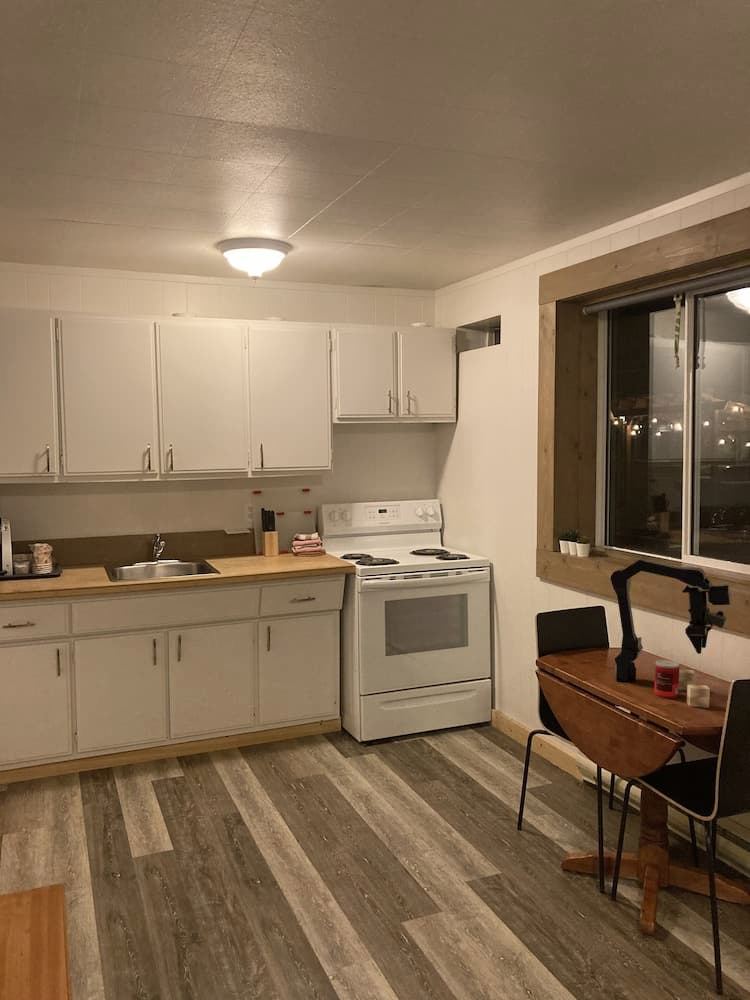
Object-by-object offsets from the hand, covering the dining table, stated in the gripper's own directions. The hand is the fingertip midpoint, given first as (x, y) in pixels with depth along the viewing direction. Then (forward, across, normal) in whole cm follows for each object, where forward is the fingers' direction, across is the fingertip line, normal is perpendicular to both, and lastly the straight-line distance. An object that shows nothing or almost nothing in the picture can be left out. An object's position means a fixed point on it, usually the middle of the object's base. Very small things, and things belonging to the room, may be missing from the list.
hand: (701, 650), depth 286 cm
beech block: (+14, -17, -1) cm, 22 cm away
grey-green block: (+13, 0, +6) cm, 15 cm away
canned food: (+13, -12, +10) cm, 20 cm away
